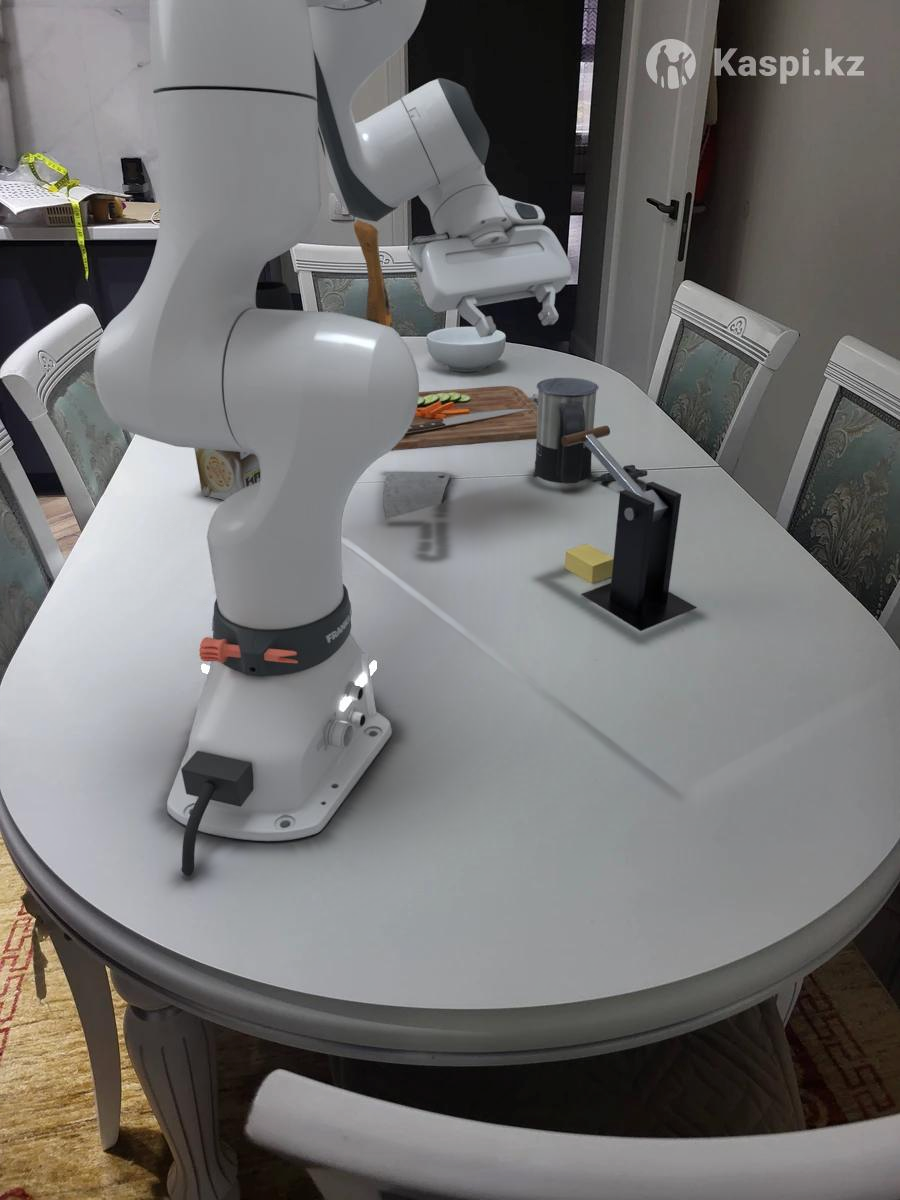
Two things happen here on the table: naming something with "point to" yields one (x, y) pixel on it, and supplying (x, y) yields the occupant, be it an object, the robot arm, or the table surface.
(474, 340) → the cereal bowl
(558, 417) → the milk frother
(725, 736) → the table surface
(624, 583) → the bracket
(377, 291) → the wooden handle
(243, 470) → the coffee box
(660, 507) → the slicer arm
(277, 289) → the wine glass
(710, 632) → the table surface
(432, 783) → the table surface
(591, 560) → the butter
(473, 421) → the chopping board
